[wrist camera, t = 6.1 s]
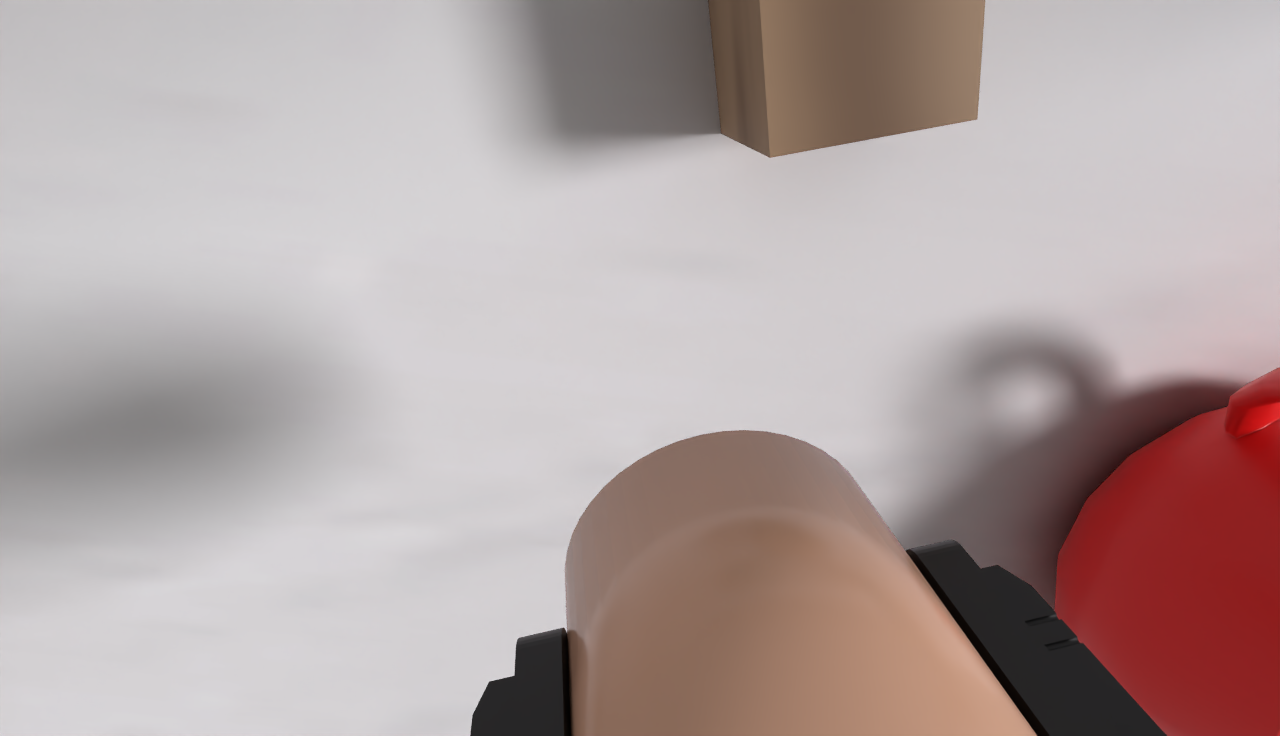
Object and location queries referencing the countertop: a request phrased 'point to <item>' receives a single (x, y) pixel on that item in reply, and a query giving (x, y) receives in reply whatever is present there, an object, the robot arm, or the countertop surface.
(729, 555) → the dome-topped cylinder
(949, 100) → the block
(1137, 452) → the teapot
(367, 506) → the countertop surface
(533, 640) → the robot arm
